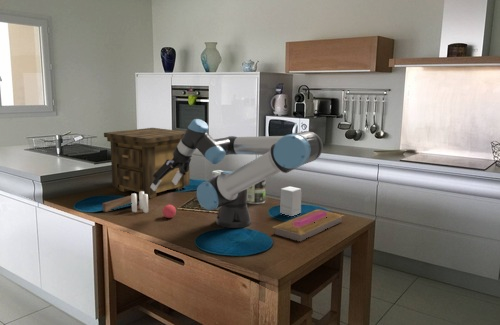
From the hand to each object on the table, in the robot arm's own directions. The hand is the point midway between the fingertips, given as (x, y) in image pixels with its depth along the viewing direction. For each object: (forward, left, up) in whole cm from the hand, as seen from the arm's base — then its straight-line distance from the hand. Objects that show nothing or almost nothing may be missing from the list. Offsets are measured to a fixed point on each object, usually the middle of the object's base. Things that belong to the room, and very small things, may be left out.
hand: (163, 185), depth 194 cm
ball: (-1, -2, -12) cm, 13 cm away
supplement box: (-44, -39, -16) cm, 61 cm away
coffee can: (-19, -48, -16) cm, 54 cm away
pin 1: (+19, 0, -15) cm, 24 cm away
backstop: (+30, -1, -15) cm, 34 cm away
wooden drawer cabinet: (+42, -34, -16) cm, 57 cm away
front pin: (+14, -2, -15) cm, 21 cm away
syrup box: (+1, -43, -16) cm, 46 cm away
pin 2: (+19, -5, -15) cm, 25 cm away
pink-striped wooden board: (-59, -27, -16) cm, 67 cm away
